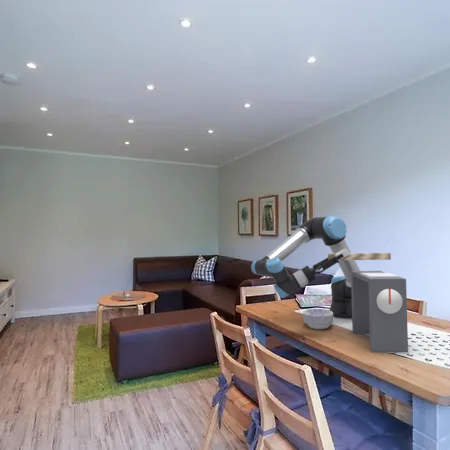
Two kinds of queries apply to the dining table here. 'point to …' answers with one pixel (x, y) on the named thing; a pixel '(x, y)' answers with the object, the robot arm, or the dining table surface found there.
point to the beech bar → (364, 256)
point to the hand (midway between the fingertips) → (347, 251)
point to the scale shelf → (380, 309)
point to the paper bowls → (318, 318)
